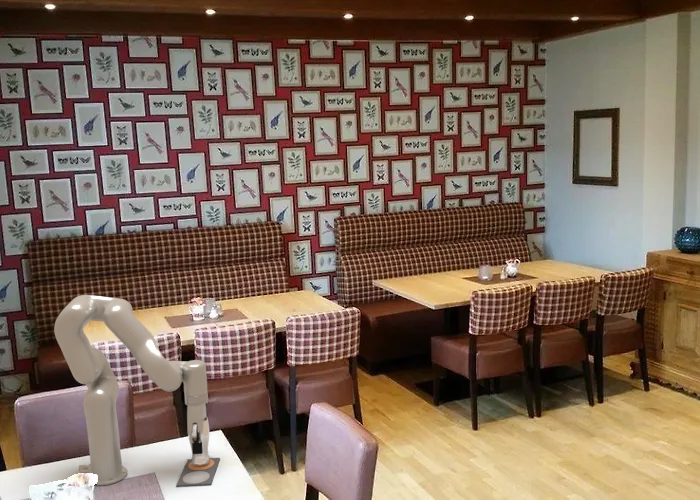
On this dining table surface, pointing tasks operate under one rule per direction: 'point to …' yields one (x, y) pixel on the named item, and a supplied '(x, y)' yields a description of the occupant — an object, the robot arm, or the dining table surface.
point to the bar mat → (198, 473)
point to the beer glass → (204, 457)
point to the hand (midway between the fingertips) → (199, 448)
